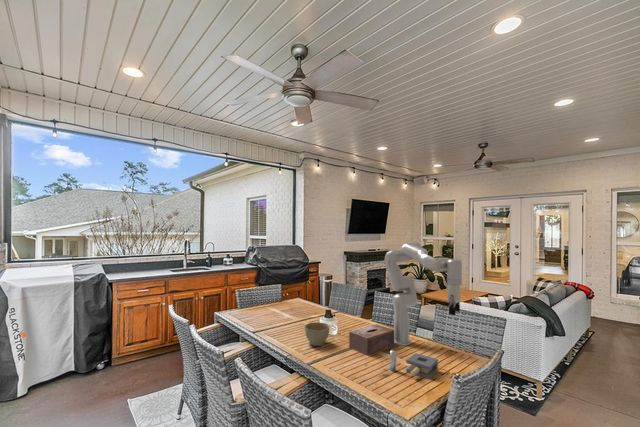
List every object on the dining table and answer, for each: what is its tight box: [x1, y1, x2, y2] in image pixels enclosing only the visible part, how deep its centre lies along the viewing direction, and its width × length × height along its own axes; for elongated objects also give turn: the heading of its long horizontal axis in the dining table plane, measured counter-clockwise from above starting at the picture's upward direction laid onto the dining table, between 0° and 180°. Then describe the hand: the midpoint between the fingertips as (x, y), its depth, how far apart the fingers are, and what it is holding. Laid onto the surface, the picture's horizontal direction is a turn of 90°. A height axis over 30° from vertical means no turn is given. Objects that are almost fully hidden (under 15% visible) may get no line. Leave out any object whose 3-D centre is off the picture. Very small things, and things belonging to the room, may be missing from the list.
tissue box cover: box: [348, 323, 395, 356], centre depth 195 cm, size 26×14×10 cm, turn 130°
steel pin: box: [389, 349, 397, 373], centre depth 162 cm, size 3×3×10 cm
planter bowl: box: [304, 321, 331, 347], centre depth 199 cm, size 16×16×11 cm
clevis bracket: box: [405, 352, 439, 380], centre depth 159 cm, size 12×18×6 cm, turn 141°
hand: (454, 312), depth 172 cm, fingers open, 9 cm apart
